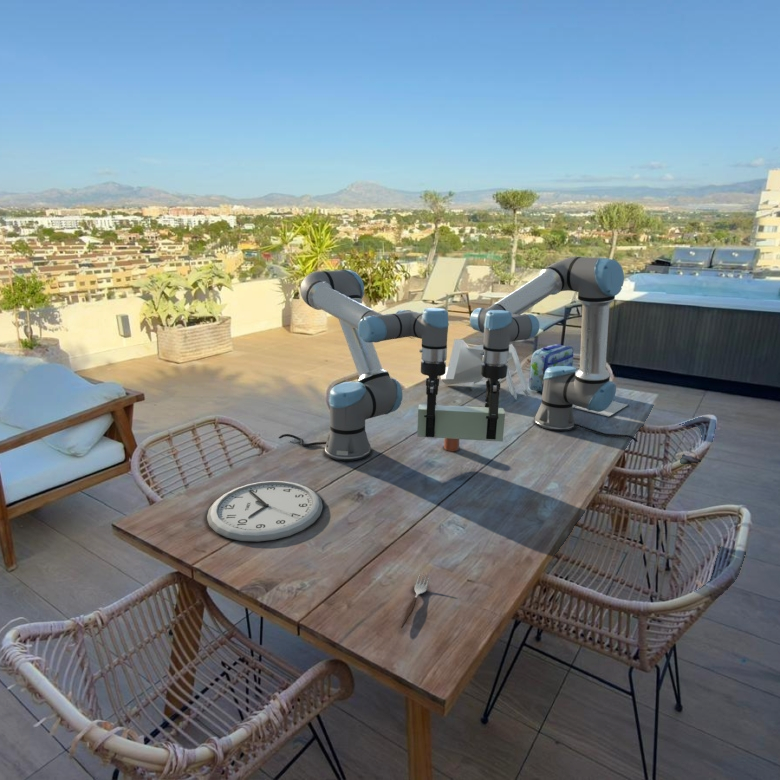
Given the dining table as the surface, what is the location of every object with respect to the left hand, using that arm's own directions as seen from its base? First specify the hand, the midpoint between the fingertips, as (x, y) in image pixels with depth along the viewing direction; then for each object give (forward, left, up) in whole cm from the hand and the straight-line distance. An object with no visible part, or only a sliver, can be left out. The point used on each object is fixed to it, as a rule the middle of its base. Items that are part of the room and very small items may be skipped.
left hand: (430, 432), depth 163 cm
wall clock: (-25, -47, -12) cm, 55 cm away
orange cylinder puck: (0, +17, -12) cm, 21 cm away
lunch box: (+10, +107, -12) cm, 109 cm away
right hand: (+17, +7, +2) cm, 18 cm away
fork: (+26, -59, -12) cm, 65 cm away
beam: (+8, +4, 0) cm, 9 cm away
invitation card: (+36, +94, -12) cm, 101 cm away
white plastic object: (-16, +84, -12) cm, 86 cm away
